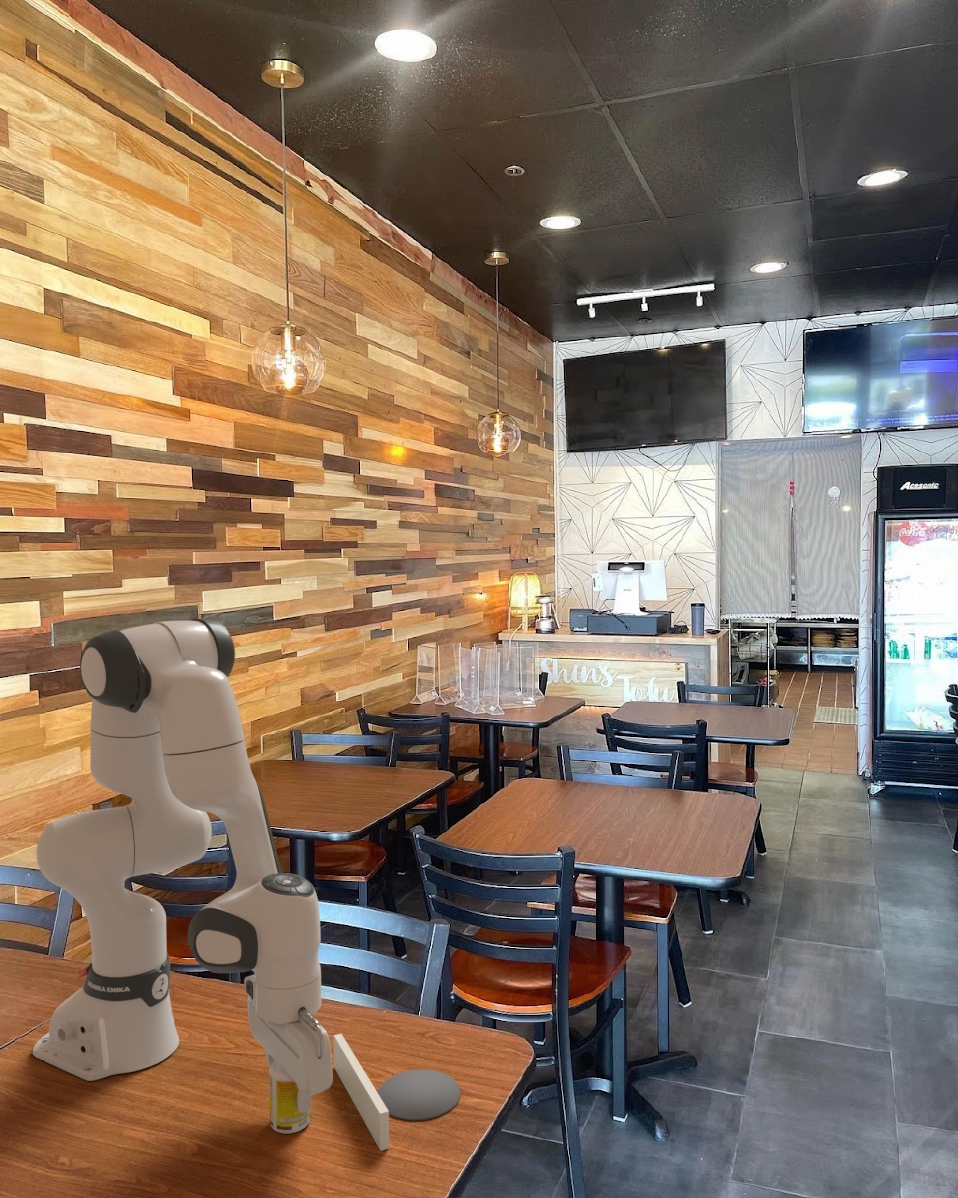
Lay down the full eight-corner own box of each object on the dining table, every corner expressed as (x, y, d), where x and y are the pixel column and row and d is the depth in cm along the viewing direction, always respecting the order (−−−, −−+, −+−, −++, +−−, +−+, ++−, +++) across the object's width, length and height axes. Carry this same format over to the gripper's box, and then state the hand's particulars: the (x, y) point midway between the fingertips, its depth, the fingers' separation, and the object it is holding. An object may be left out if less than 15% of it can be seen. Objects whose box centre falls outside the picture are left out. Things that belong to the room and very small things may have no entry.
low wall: (389, 1148, 120) (388, 1111, 120) (380, 1151, 120) (380, 1113, 119) (341, 1065, 140) (341, 1033, 140) (334, 1067, 140) (333, 1035, 139)
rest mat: (362, 1110, 129) (362, 1107, 129) (398, 1066, 140) (398, 1063, 140) (441, 1128, 124) (441, 1125, 124) (472, 1081, 136) (472, 1078, 136)
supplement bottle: (319, 1122, 126) (318, 1050, 125) (285, 1141, 122) (284, 1066, 121) (295, 1106, 130) (294, 1036, 129) (261, 1124, 126) (260, 1051, 125)
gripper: (344, 1019, 118) (345, 1123, 119) (280, 963, 135) (281, 1055, 136) (299, 1034, 115) (300, 1141, 115) (239, 974, 131) (240, 1068, 132)
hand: (289, 1094), depth 126 cm, fingers open, 7 cm apart
